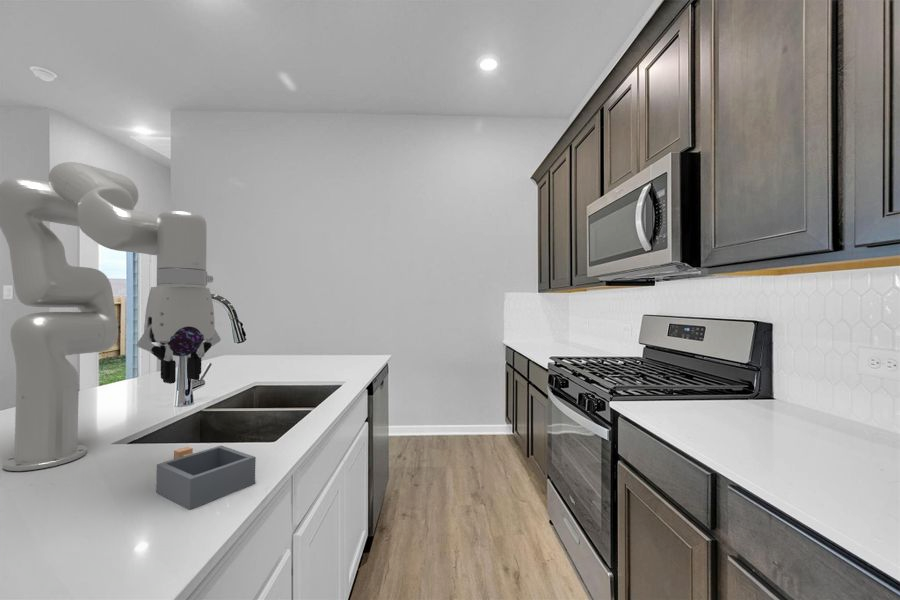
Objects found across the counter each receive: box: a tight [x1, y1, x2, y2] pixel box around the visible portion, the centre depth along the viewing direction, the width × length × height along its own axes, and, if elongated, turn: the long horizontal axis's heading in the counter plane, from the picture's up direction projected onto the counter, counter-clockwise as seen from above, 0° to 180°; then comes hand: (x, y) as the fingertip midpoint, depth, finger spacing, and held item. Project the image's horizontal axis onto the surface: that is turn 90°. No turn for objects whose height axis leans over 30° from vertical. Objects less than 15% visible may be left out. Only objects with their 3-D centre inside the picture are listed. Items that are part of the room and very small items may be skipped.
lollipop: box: [161, 327, 204, 404], centre depth 73 cm, size 7×7×15 cm
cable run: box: [173, 446, 195, 459], centre depth 83 cm, size 16×4×2 cm, turn 43°
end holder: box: [155, 445, 256, 511], centre depth 74 cm, size 12×12×5 cm
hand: (181, 379), depth 73 cm, fingers closed on lollipop, 3 cm apart
